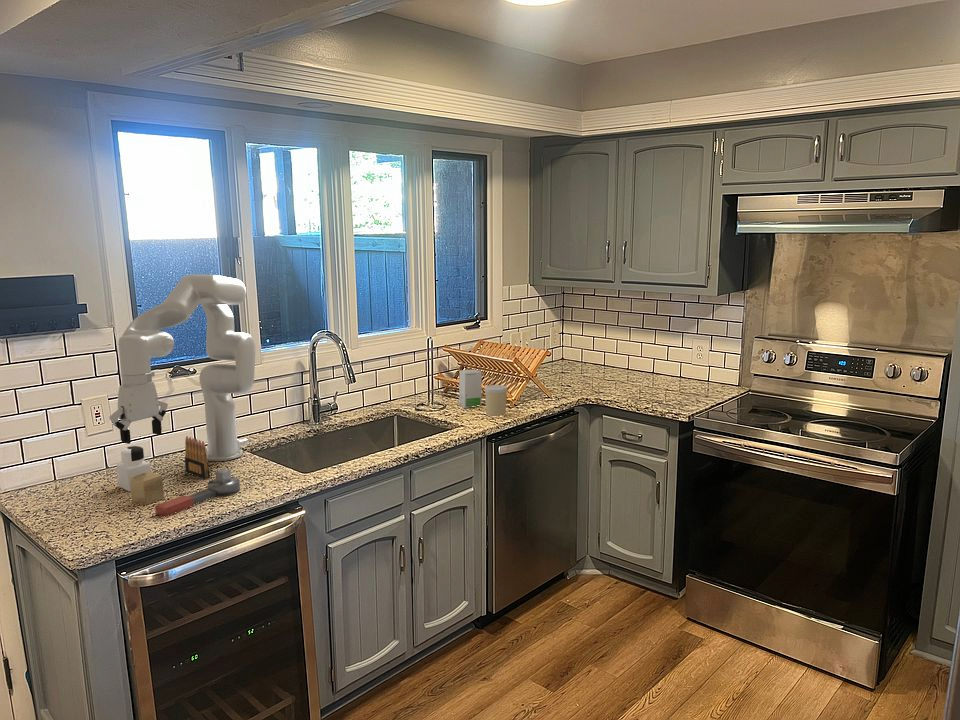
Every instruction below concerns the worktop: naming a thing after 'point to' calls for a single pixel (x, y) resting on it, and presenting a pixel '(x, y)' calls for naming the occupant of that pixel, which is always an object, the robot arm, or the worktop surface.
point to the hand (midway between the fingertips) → (142, 438)
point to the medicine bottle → (131, 466)
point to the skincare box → (470, 388)
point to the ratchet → (202, 493)
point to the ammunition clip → (196, 458)
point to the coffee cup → (495, 399)
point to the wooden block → (147, 488)
